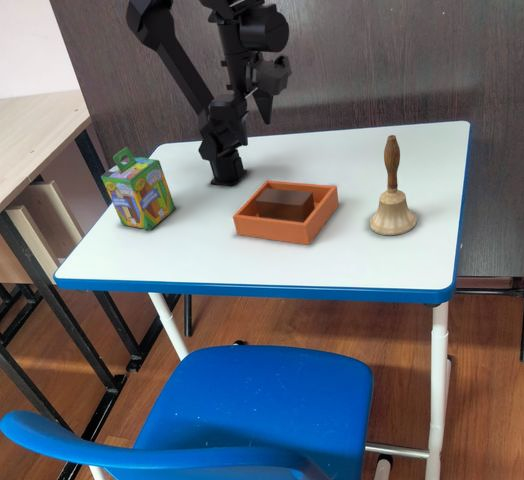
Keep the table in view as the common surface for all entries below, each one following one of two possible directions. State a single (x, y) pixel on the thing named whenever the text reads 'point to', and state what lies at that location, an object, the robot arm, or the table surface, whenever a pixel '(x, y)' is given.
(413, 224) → the hand bell
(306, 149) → the table surface
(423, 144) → the table surface
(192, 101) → the robot arm
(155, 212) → the chalk box
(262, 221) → the tray
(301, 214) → the eraser
